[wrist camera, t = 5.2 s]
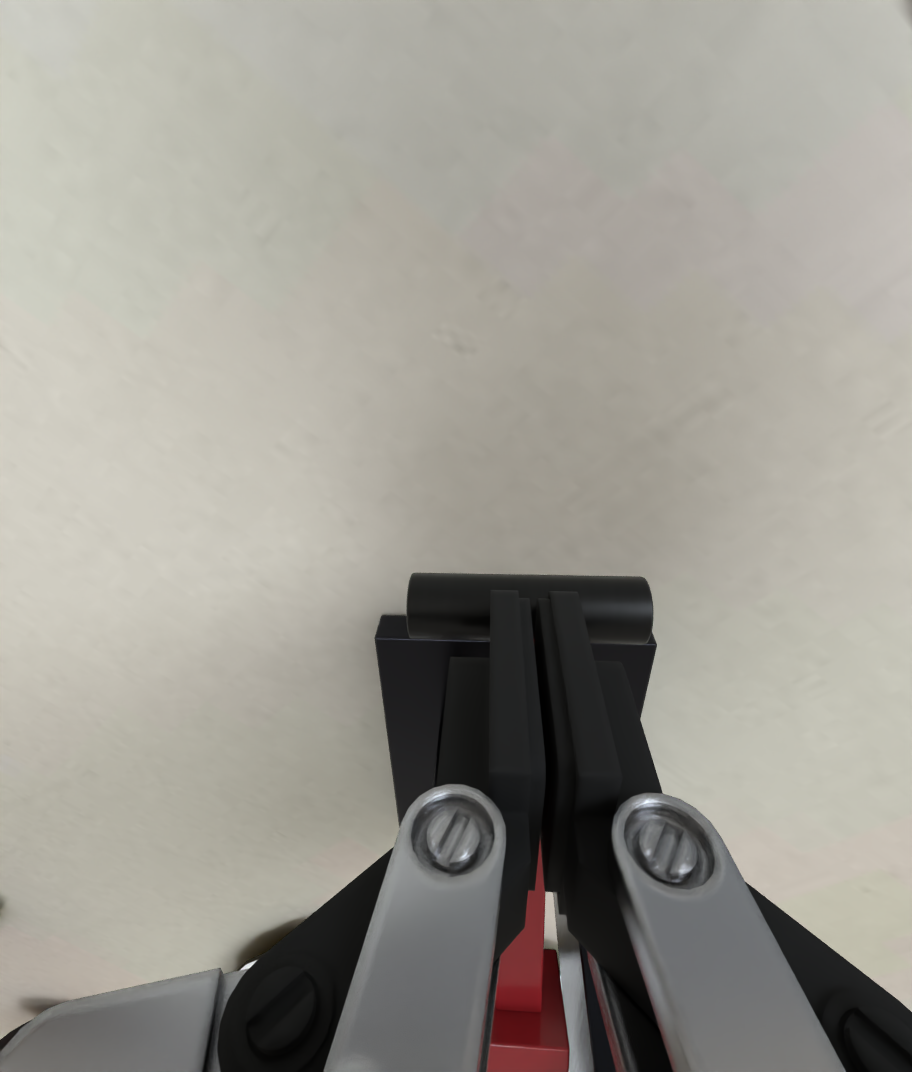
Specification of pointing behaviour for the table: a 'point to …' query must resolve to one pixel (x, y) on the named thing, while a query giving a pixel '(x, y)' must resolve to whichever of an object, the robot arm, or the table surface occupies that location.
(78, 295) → the table surface
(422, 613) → the red t-handle lever
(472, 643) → the lever stand
